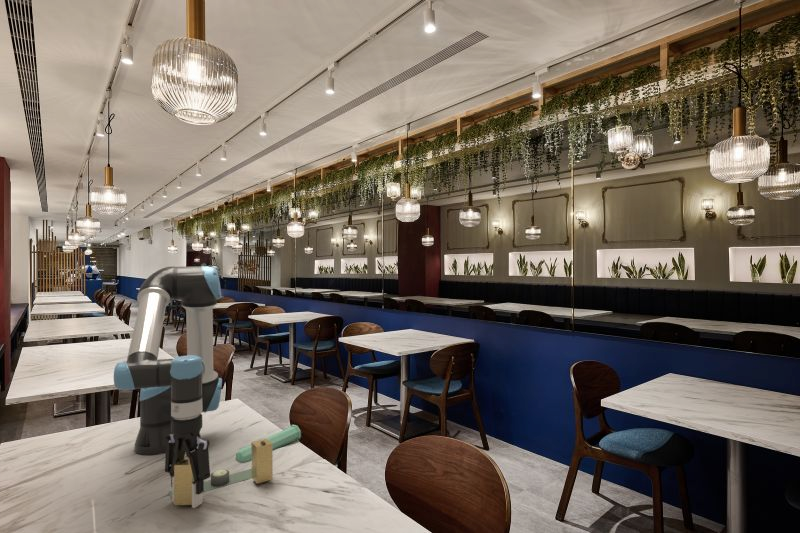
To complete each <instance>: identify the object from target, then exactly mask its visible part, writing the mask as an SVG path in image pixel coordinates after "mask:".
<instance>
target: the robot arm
mask: <svg viewBox="0 0 800 533" xmlns="http://www.w3.org/2000/svg"><path fill="white" fill-rule="evenodd" d="M219 276H220V275H219V271H218V269H217V268H216V267H214V266H206V265H198V266H197V265H195V266H190V265H189V266H187V265H186V266H166V267H164V268H160V269H158V270H156V271H155V272H153V273H151V275H149V276H148V277H147V278H146V279H145V280H144V281H143V283H142V284H141V286H140V287H139V289H138V293H137V297H136V299H137V303H138V304H139V305H138V308H137V312H136V313H137V314H136V318H135V323H134V327H133V331H132V335H131V341H130V344H129V348H128V353H127V357H126V361H121V362H117V363H116V365H115V367H114V371H113V385H114V387H115V389H116V390H118V391H129V390H131V391H134V390H139V389H140V393H139V399H138V400H139V421H140V422H139V424H140V425H139V430H138V433H137V436H136V439H135V440H134V453H137V454H138V455H145V456H146V455H148V456H149V455H151V456H152V455H156V454H157V455H158V454H162V453H165V458H164V459H165V460H164V461H165V462H164V472H165V473H169V476H170V479H171V480H170V487H171V491H172V499H171V501H172V502H173V503H174V465H175V464H176V463H177V462H178V461H179V460H180V459H182V458H184V457H185V455H186V457H189V461H190V465H191V469H192V473H193V477H194V481H193V482H192V505H191V508H193V509H195V508H197V507H198V506H200V505H201V504H203V493H204V492H203V491H204V482H205V481H207V480H208V479H210V478H211V468H210V456H209V454H210V453H209V446H210V440H209V439H206V440H203V438H202V436H201V433H200V432H201V430H202V428H203V414H202V413H205V414H206V413H207V412H214V411H216V410H218V409H219V407H220V402H221V394H222V387H223V386H222V385H223V379H222V377H219V373H218V372H217V371H215V370H214V327H213V325H214V324H213V323H214V319H213V314H214V313H213V312H214V310H213V309H214V307H215V306H216V305H218V300H219V299H222V290H221V289H222V288H221V282H220V277H219ZM171 301H180V305H181V307H182V308H183V309H185V315H186V320H185V321H186V353H187V354H186V355H181V356H177V357H174V358H167V359H166V358H163V359H158V357H159V352H160V347H161V346H160V345H161V341H162V340H161V339H162V332H163V326H164V321H165V315H166V314H165V313H166V307H167V306H169V304H170V303H171ZM202 492H203V493H202Z"/></svg>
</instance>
